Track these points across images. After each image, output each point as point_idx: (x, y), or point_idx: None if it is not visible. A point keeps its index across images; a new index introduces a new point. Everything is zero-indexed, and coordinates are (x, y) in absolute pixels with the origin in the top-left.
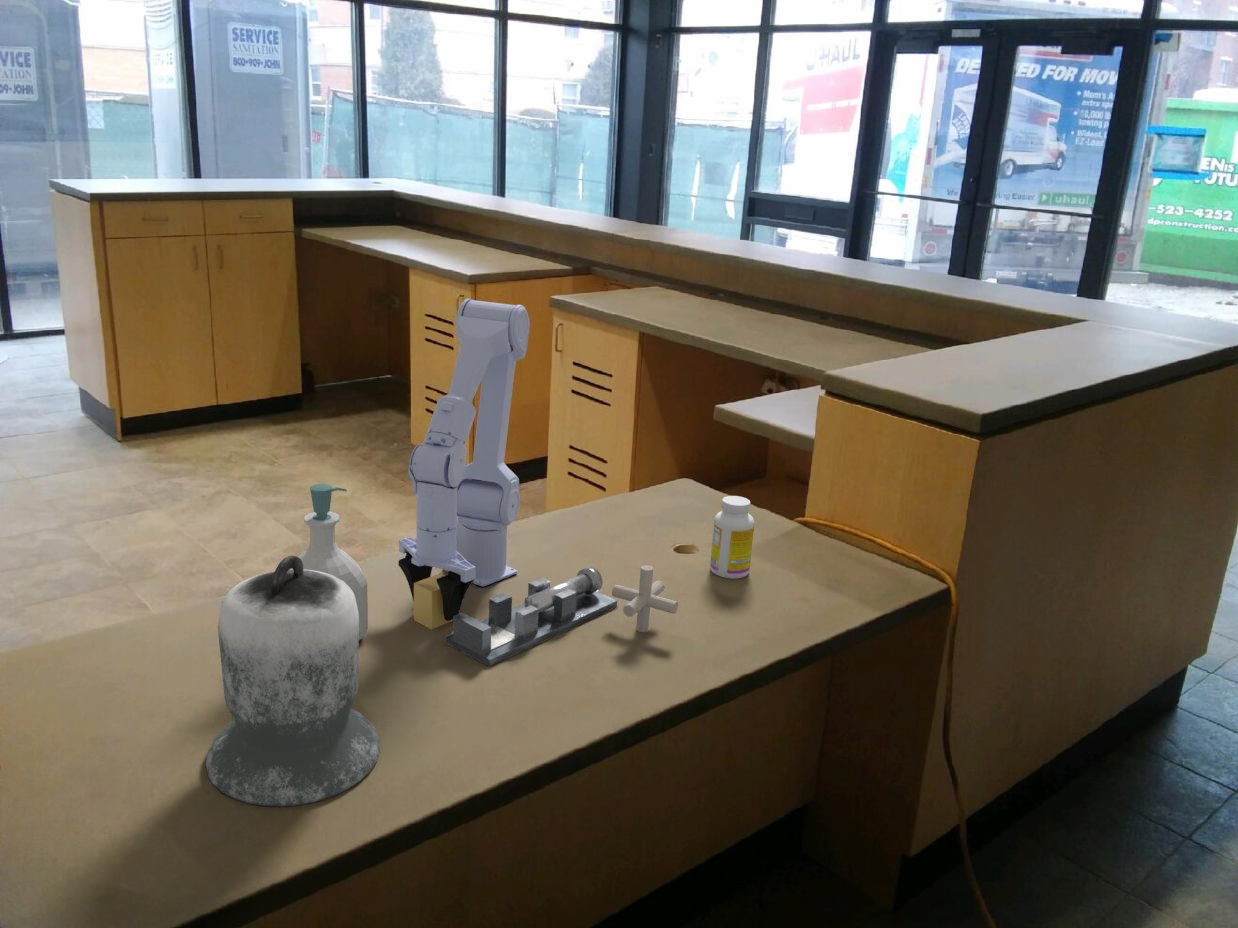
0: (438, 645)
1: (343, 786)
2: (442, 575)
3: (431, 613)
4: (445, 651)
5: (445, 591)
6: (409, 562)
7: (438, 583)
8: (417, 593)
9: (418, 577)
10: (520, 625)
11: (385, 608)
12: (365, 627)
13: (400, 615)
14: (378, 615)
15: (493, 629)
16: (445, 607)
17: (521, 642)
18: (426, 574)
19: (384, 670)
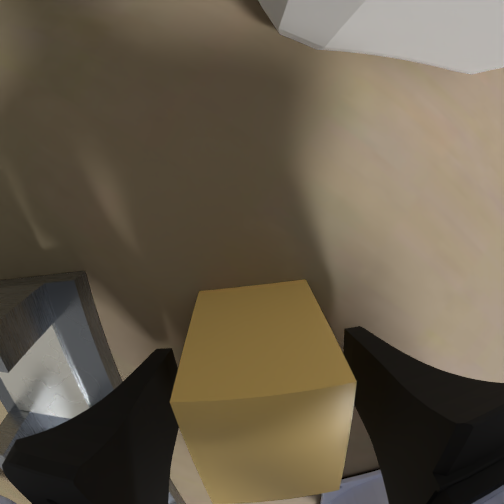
0: (82, 242)
1: None
2: (314, 490)
3: (192, 324)
4: (43, 238)
5: (67, 431)
6: (470, 452)
7: (78, 458)
8: (308, 352)
9: (394, 419)
10: (3, 429)
11: (434, 244)
12: (268, 7)
13: (365, 258)
14: (413, 194)
15: (63, 402)
16: (134, 378)
17: (3, 396)
18: (384, 451)
19: (58, 18)
